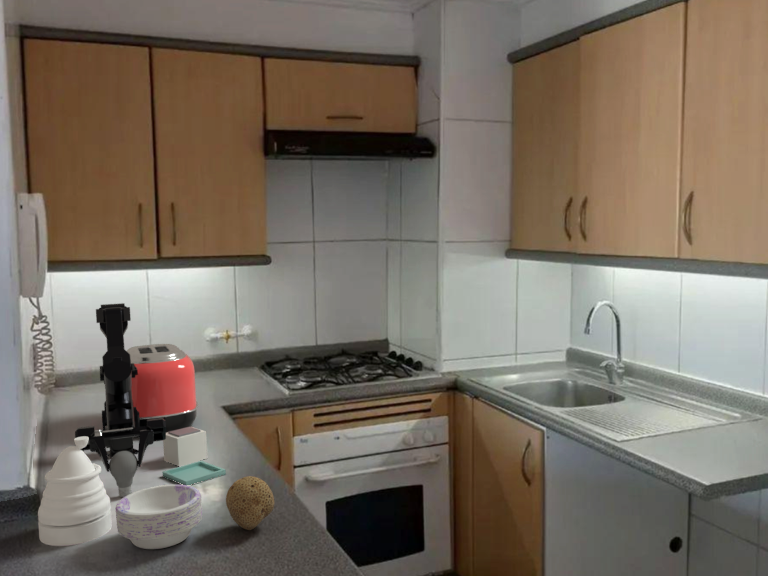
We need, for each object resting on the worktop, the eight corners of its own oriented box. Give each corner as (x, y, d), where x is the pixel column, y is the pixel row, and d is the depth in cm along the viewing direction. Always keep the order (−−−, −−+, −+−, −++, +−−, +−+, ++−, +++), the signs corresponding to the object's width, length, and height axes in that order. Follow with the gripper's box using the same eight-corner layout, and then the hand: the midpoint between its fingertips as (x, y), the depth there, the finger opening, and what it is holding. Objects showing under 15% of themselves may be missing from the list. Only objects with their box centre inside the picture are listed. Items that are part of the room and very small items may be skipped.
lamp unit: (164, 461, 180) (162, 432, 179) (193, 452, 186) (192, 424, 185) (179, 466, 175) (177, 437, 175) (208, 458, 181) (207, 429, 181)
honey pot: (107, 513, 147) (101, 427, 146) (116, 536, 136) (110, 442, 135) (37, 527, 141) (31, 437, 140) (41, 552, 130) (34, 454, 129)
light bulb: (130, 489, 161) (127, 445, 160) (145, 495, 157) (142, 450, 156) (105, 497, 156) (102, 452, 155) (120, 503, 152) (117, 457, 151)
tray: (162, 476, 168) (162, 471, 168) (201, 465, 176) (201, 460, 176) (186, 486, 161) (186, 481, 161) (225, 474, 169) (225, 469, 169)
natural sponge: (255, 514, 144) (253, 466, 143) (285, 525, 138) (283, 475, 138) (218, 529, 138) (215, 478, 137) (247, 542, 132) (245, 489, 131)
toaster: (204, 433, 204) (200, 352, 202) (118, 444, 196) (113, 360, 194) (189, 408, 234) (185, 337, 232) (113, 417, 225) (109, 344, 223)
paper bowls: (103, 540, 134) (101, 499, 134) (178, 516, 145) (176, 477, 144) (141, 566, 123) (138, 521, 123) (218, 537, 134) (216, 496, 133)
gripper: (161, 420, 173) (168, 479, 164) (77, 430, 166) (79, 492, 157) (162, 394, 165) (169, 455, 156) (74, 404, 158) (75, 468, 149)
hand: (123, 468), depth 154 cm, fingers closed on light bulb, 6 cm apart
